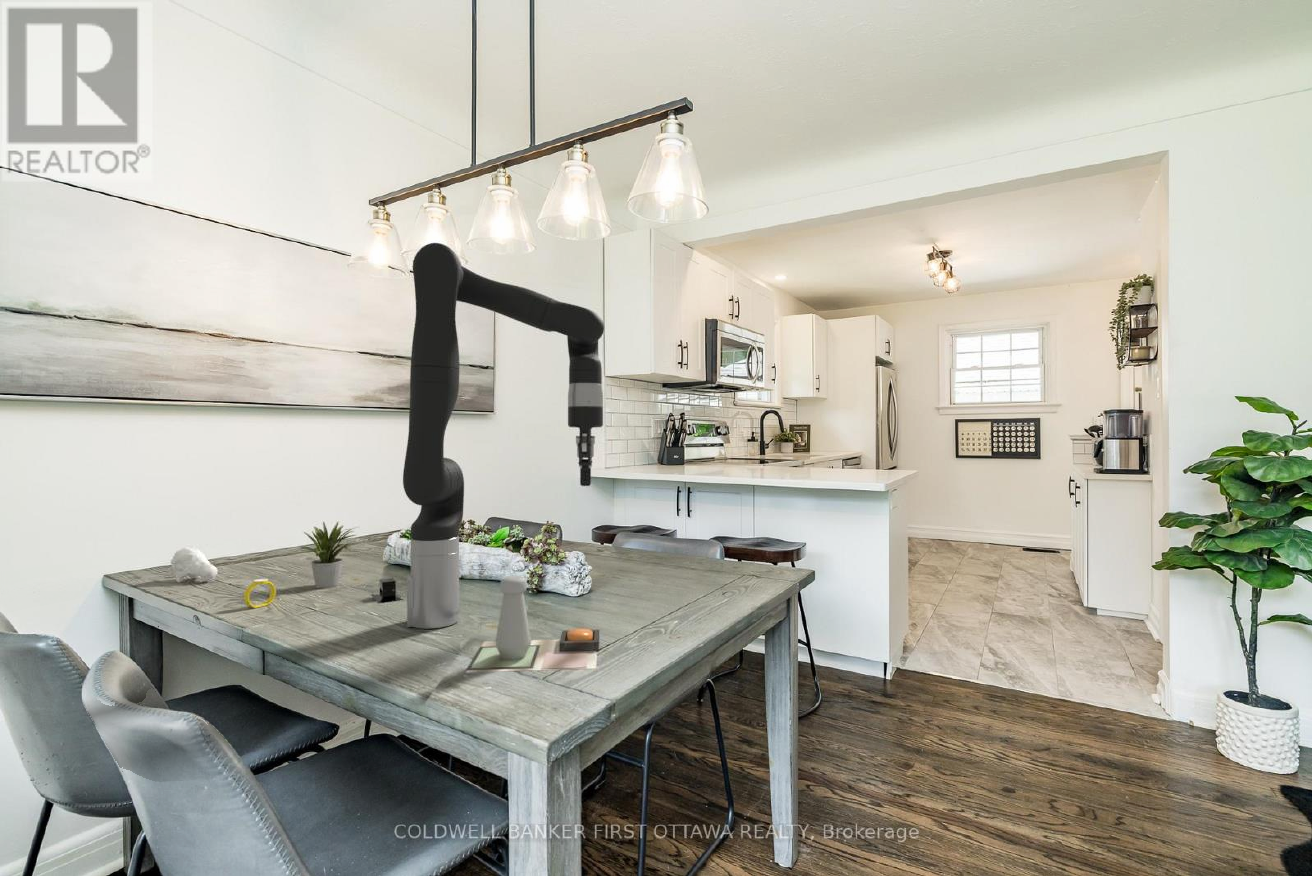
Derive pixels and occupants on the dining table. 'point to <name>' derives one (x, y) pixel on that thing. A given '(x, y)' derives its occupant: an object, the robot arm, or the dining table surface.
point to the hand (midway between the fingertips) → (585, 485)
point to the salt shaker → (513, 620)
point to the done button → (580, 635)
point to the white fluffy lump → (192, 565)
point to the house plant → (327, 556)
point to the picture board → (540, 656)
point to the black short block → (387, 591)
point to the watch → (255, 582)
